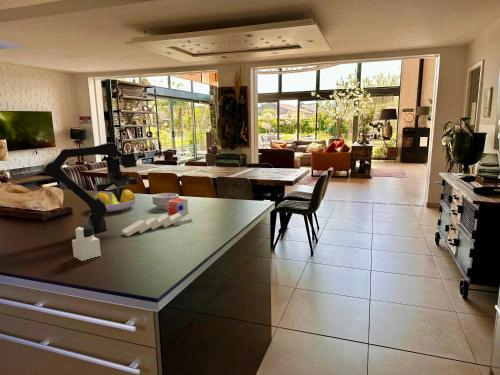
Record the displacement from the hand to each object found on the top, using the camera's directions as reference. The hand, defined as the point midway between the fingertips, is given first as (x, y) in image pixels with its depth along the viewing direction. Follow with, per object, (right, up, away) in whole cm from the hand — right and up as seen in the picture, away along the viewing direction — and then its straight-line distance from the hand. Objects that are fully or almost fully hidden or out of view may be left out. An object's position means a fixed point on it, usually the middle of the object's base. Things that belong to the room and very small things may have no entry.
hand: (119, 201), depth 163 cm
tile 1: (+6, -14, -10) cm, 18 cm away
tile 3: (+15, -12, 0) cm, 19 cm away
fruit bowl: (-18, -6, +41) cm, 45 cm away
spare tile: (+24, -11, +6) cm, 27 cm away
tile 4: (+20, -11, +3) cm, 23 cm away
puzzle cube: (+23, -8, +26) cm, 35 cm away
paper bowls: (+13, -6, +41) cm, 43 cm away
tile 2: (+11, -13, -5) cm, 18 cm away
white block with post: (+1, -20, -34) cm, 39 cm away
